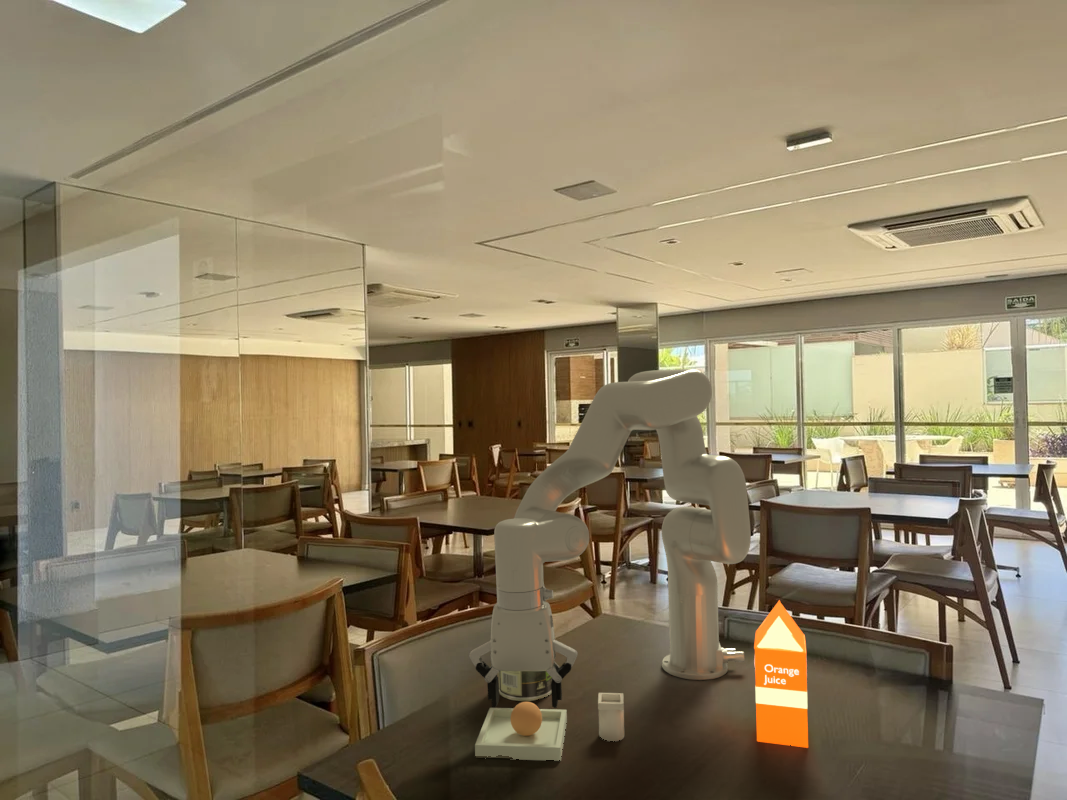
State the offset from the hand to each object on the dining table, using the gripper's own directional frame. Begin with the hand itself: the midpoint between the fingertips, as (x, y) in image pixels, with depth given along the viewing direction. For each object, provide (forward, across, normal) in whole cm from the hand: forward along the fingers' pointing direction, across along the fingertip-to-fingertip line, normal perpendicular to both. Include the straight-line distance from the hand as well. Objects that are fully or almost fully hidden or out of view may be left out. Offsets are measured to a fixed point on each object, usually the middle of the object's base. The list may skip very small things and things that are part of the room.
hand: (525, 703), depth 116 cm
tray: (+5, 0, 0) cm, 5 cm away
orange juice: (+6, -40, -4) cm, 41 cm away
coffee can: (+6, +2, -18) cm, 20 cm away
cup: (+6, -14, -2) cm, 15 cm away
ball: (+2, 0, 0) cm, 2 cm away
